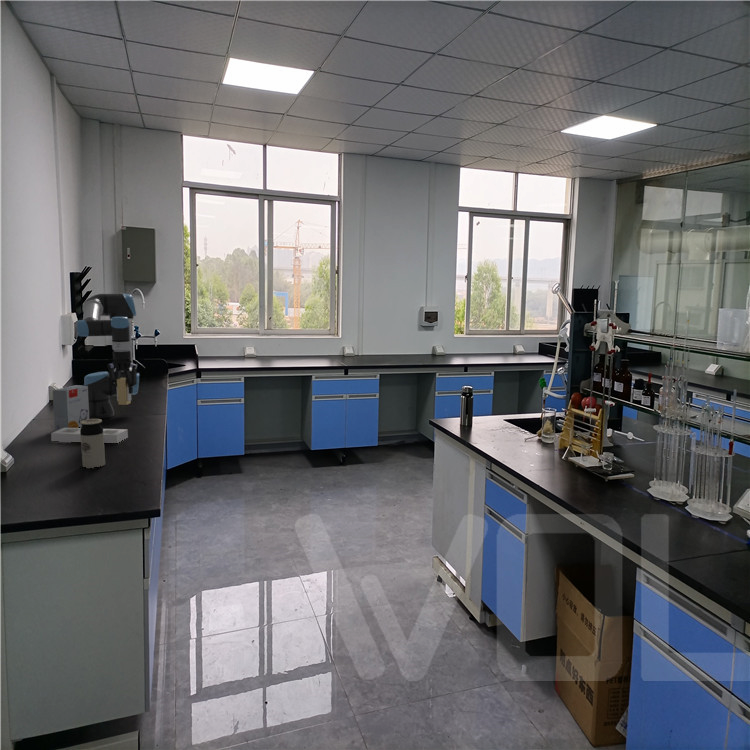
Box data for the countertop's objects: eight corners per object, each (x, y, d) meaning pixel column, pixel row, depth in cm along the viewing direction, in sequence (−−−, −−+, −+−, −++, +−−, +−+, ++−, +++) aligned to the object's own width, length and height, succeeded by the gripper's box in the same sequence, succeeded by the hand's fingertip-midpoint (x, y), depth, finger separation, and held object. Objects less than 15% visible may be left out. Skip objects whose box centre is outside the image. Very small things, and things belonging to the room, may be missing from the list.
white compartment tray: (64, 436, 264) (64, 427, 263) (128, 437, 262) (127, 429, 262) (51, 441, 254) (50, 433, 253) (117, 443, 253) (116, 435, 252)
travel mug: (97, 461, 228) (94, 417, 225) (109, 464, 224) (106, 420, 221) (78, 466, 221) (75, 421, 218) (90, 470, 217) (87, 424, 215)
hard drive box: (68, 432, 271) (65, 391, 267) (54, 431, 272) (51, 390, 269) (90, 424, 286) (88, 385, 283) (77, 423, 287) (74, 384, 284)
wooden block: (122, 402, 268) (121, 377, 266) (130, 402, 268) (129, 377, 266) (118, 404, 264) (116, 379, 262) (126, 404, 264) (125, 379, 262)
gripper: (99, 351, 258) (102, 401, 262) (136, 351, 258) (138, 402, 261) (107, 349, 266) (110, 398, 269) (143, 350, 265) (145, 399, 269)
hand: (124, 400), depth 265 cm, fingers closed on wooden block, 4 cm apart
